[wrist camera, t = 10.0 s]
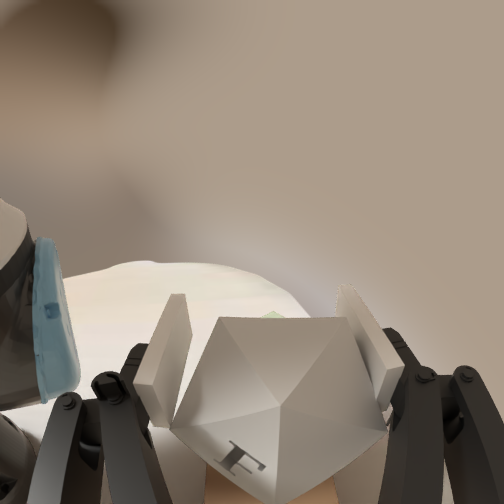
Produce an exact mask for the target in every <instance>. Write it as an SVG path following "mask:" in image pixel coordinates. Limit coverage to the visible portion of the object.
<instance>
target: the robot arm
mask: <svg viewBox="0 0 504 504" xmlns="http://www.w3.org/2000/svg"><path fill="white" fill-rule="evenodd" d="M335 317H346V318H347V320H348V323H349V325H350V328H351V330H352V333H353V335H354V338H355V340H356V343H357V345H358V348H359V351H360V353H361V356H362V358H363V361H364V364H365V366H366V369H367V372H368V375H369V377H370V380H371V383H372V386H373V389H374V392H375V398H376V401H378V403H379V406H380V409H381V412H383V411H386V410H387V408H388V406H389V404H390V403H391V405H392V407H393V411H392V413H391V415H390V417H389V419H388V421H387V424H386V426H388V425H389V424H390V431H389V440H388V448H387V456H386V463H385V469H384V475H383V481H382V486H381V491H380V496H379V501H378V504H442V493H443V473H444V459H445V463H446V467H447V471H448V475H449V480H450V484H451V489H452V494H453V499H454V504H504V423H503V421H502V419H501V416H500V414H499V412H498V410H497V408H496V406H495V404H494V402H493V400H492V398H491V396H490V394H489V392H488V390H487V388H486V386H485V384H484V382H483V381H482V379H481V377H480V375H479V373H478V372H477V371H476V370H475V369H474V368H472V367H470V366H459V367H457V368H456V370H455V371H454V373H453V375H437V374H436V372H435V371H434V370H433V369H431V368H429V367H425V366H421V365H420V363H419V362H418V360H417V359H416V357H415V356H414V354H413V353H412V351H411V350H410V348H409V347H407V346H408V345H407V344H406V342H404V340H403V338H402V337H401V336H400V334H399V333H398V332H397V331H395V330H394V329H392V328H385V329H381V327H380V326H379V324H378V323H377V321H376V320H375V318H374V317H373V315H372V314H371V312H370V311H369V309H368V308H367V306H366V305H365V303H364V302H363V300H362V299H361V297H360V296H359V295H358V293H357V292H356V290H355V289H354V287H353V286H352V285H351V284H350V285H338V293H337V303H336V312H335ZM191 339H192V330H191V325H190V320H189V314H188V309H187V303H186V298H185V294H171V296H170V298H169V300H168V302H167V304H166V306H165V309H164V311H163V313H162V315H161V318H160V320H159V322H158V324H157V327H156V329H155V331H154V333H153V336H152V338H151V340H150V343H149V344H143V343H138V344H137V345H136V346H135V347H133V348H132V349H131V351H130V353H129V355H128V357H127V359H126V361H125V363H124V365H123V367H122V369H121V372H120V374H119V373H117V372H113V371H108V372H104V373H101V374H99V375H97V376H96V377H95V378H94V379H93V381H92V383H91V387H92V389H93V391H94V393H95V395H96V396H97V398H96V399H87V400H82V398H81V396H80V395H79V394H77V393H75V392H72V391H74V390H75V389H76V388H77V386H78V384H79V382H80V377H81V370H80V363H79V359H78V353H77V349H76V344H75V339H74V335H73V330H72V325H71V320H70V316H69V311H68V306H67V301H66V295H65V290H64V285H63V279H62V274H61V268H60V263H59V257H58V253H57V250H56V247H55V243H54V241H53V240H52V239H50V238H42V237H38V238H37V239H36V240H35V241H34V242H33V241H32V238H31V235H30V232H29V228H28V224H27V221H26V218H25V215H24V213H23V212H22V211H21V210H19V209H17V208H15V207H13V206H11V205H9V204H7V203H5V202H4V201H3V200H2V199H1V198H0V411H5V410H11V409H16V408H21V407H26V406H31V405H36V404H40V403H42V404H46V403H47V402H48V400H50V399H53V398H56V397H58V398H57V399H56V401H55V403H54V406H53V409H52V412H51V415H50V417H49V420H48V423H47V426H46V430H45V433H44V436H43V439H42V443H41V446H40V449H39V453H38V457H37V460H36V457H35V453H34V450H33V447H32V445H31V443H30V441H29V440H28V438H27V437H26V436H25V435H24V433H23V432H22V431H21V430H20V429H19V428H18V426H17V425H16V424H15V423H14V422H13V421H11V420H10V419H9V418H7V417H6V416H4V415H2V414H1V413H0V504H26V502H27V504H100V498H101V486H102V476H103V467H104V459H105V465H106V471H107V477H108V482H109V488H110V493H111V497H112V502H113V504H173V503H172V500H171V498H170V495H169V492H168V489H167V487H166V484H165V481H164V478H163V475H162V472H161V468H160V465H159V462H158V459H157V455H156V452H155V448H154V445H153V441H152V438H151V434H150V431H149V429H148V428H147V427H148V424H149V420H150V421H151V423H152V425H153V426H154V427H163V428H170V426H171V424H172V421H173V416H174V412H175V407H176V403H177V398H178V394H179V389H180V385H181V381H182V376H183V372H184V368H185V364H186V360H187V355H188V351H189V347H190V343H191Z"/></svg>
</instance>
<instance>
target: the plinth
mask: <svg viewBox="0 0 504 504" xmlns="http://www.w3.org/2000/svg"><path fill="white" fill-rule="evenodd" d="M204 504H264V503H263V502H261V501H260V500H258V499H257V498H255V497H253V496H252V495H250V494H249V493H247V492H246V491H244V490H243V489H242V488H240V487H239V486H237V485H236V484H234V483H233V482H232V481H230V480H229V479H228V478H226V477H225V476H224V475H222V474H221V473H220V472H218V471H217V470H216V469H214V468H213V467H212V466H211V465H209V464H208V463H207V469H206V481H205V494H204ZM286 504H339V502H338V498H337V493H336V489H335V484H334V479H333V475H332V476H331V477H329V478H328V479H326V480H325V481H323V482H322V483H320V484H318V485H317V486H315V487H314V488H312V489H310V490H309V491H307V492H305V493H304V494H302V495H300V496H298V497H297V498H295V499H293V500H291V501H289V502H287V503H286Z"/></svg>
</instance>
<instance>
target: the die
mask: <svg viewBox="0 0 504 504" xmlns="http://www.w3.org/2000/svg"><path fill="white" fill-rule="evenodd" d="M169 430H170V431H171V432H172V433H173V434H175V435H176V436H177V437H178V438H179V439H180V440H181V441H182V442H183V443H184V444H186V445H187V446H188V447H189V448H190V449H191V450H192V451H194V452H195V453H196V454H197V455H198V456H200V457H201V458H202V459H203V460H204V461H206V462H207V463H208V464H209V465H211V466H212V467H213V468H214V469H216V470H217V471H218V472H220V473H221V474H222V475H224V476H225V477H226V478H228V479H229V480H230V481H232V482H233V483H234V484H236V485H237V486H239V487H240V488H242V489H243V490H244V491H246V492H247V493H249V494H250V495H252V496H253V497H255V498H257V499H258V500H260V501H261V502H263V503H264V504H286V503H287V502H289V501H291V500H293V499H295V498H297V497H298V496H300V495H302V494H304V493H305V492H307V491H309V490H310V489H312V488H314V487H315V486H317V485H318V484H320V483H322V482H323V481H325V480H326V479H328V478H329V477H331V476H332V475H334V474H335V473H337V472H338V471H340V470H341V469H342V468H344V467H345V466H347V465H348V464H349V463H351V462H352V461H353V460H355V459H356V458H357V457H359V456H360V455H361V454H362V453H364V452H365V451H366V450H368V449H369V448H370V447H371V446H372V445H374V444H375V443H376V442H377V441H378V440H380V439H381V438H382V437H383V436H384V435H385V434H387V433H388V430H387V427H386V424H385V421H384V418H383V415H382V412H381V409H380V406H379V403H378V401H376V398H375V392H374V389H373V386H372V383H371V380H370V377H369V375H368V372H367V369H366V366H365V364H364V361H363V358H362V356H361V353H360V351H359V348H358V345H357V343H356V340H355V338H354V335H353V333H352V330H351V328H350V325H349V323H348V320H347V318H346V317H331V318H330V317H326V318H241V317H219V318H218V320H217V322H216V325H215V327H214V329H213V331H212V334H211V336H210V338H209V340H208V343H207V345H206V347H205V349H204V352H203V354H202V356H201V358H200V361H199V363H198V365H197V367H196V370H195V372H194V374H193V377H192V379H191V381H190V383H189V386H188V388H187V390H186V392H185V395H184V397H183V399H182V401H181V404H180V406H179V408H178V410H177V413H176V415H175V417H174V420H173V422H172V424H171V426H170V429H169Z"/></svg>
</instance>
